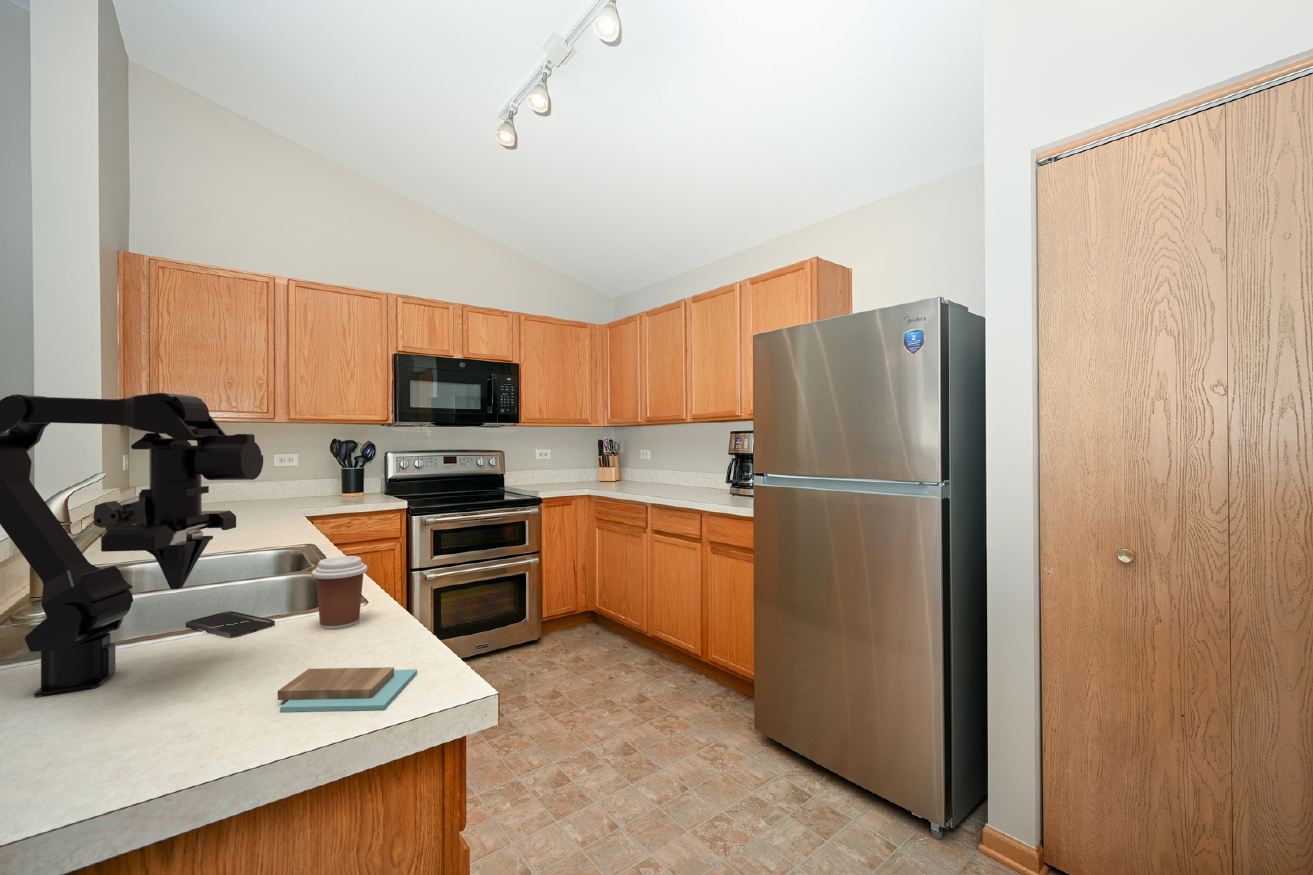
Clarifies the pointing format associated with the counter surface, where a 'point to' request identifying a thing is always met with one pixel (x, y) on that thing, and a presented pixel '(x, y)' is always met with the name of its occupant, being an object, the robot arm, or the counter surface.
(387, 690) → the mat
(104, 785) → the counter surface
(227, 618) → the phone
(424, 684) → the counter surface
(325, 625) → the coffee cup
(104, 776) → the counter surface
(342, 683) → the walnut tile
